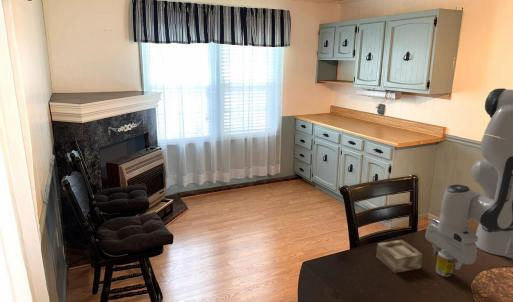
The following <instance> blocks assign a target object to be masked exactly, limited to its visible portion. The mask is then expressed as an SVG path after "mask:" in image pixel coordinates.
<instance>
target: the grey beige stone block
mask: <svg viewBox="0 0 513 302" xmlns="http://www.w3.org/2000/svg"><path fill="white" fill-rule="evenodd" d="M375 253H376V255H375V257H376V258H377V259H378V260H380V261H381V262H382V263H383V264H384V265H385V266H386V267H387V268H389V269H390V270H391V271H392V272H393V273H394V274H396V273H403V272H407V271H413V270H418V269H421V268H422V264H423V256H424V254H423V253H422V252H420V251H419V250H418V249H416V248H415V247H413V246H412V245H411V244H410V243H408V242H406V241H405V240H403V239H398V240H390V241H384V242H378V243H377V244H376V252H375Z"/></svg>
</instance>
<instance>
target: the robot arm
mask: <svg viewBox="0 0 513 302" xmlns="http://www.w3.org/2000/svg"><path fill="white" fill-rule="evenodd" d="M487 95H488V96H487V97H486V99H485V102H484V110H485V112H486V114H487V115H489V118H490V120H489V122H488V123H487V125H486V127H485V130H484V132H483V136H482V138H481V142H480V152H481V154H482V156H483V158H484V159H478V160H476V161H475V162H474V163H473V164H472V166H471V169H470V174H471V177H472V179H473V181H474V182H475V183H477V185H478V186H480V188H481V189H482V191H483V193H484V194H481V192H476V191H474V190H472V189H471V188H470V187H469V186H467V185H463V184H451V185H449V186H447V187H446V189H445V191H444V193H443V197H442V199H441V205H440V209H441V213H440V215H439V218H438V219H439V220H437V219H435V218H431V219H429V220H428V225H427V228H426V231H425V235H424V236H425V239H426V240H427V241H428V242H430V243H431V244H432V249H433V255H434V256H436V257H438V252H439V251H440V250H441V249H443V250H445V252H447V253H448V254H450V255H452V256H453V257H455V258H454V259H456V262H454V264H453V269H454V270H456V271H458V270H461V266H462V265H463V264H464V265H472V264H474V263H475V262H476V260H477V251H478V249H480V250H481V251H484V252H486V253H488V254H490V255H491V254H492V255H496V256H502V257H506V258H509V259H513V89H506V88H503V87H502V88H495V89H493V90H491V91H490V92H489V93H488V94H487ZM469 219H471V220H473V221H474V222H476V223H478V226H477V229H476V232H475V233H474V232H473V231H472V230H471V229H470V227H468V226H467V225H468V224H467V223H468V220H469Z"/></svg>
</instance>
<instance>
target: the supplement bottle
mask: <svg viewBox="0 0 513 302" xmlns="http://www.w3.org/2000/svg"><path fill="white" fill-rule="evenodd" d="M436 257H437V259H436V264H435V272H436V274H437V275H440V276H441V277H451V276H452V274H453V269H454V268H453V265H454V264H455V259H456V258H455V257H453V256H452V255H450V254H448V253H447V252H445V250H443V249H440V250H439V252H438V256H436Z"/></svg>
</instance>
